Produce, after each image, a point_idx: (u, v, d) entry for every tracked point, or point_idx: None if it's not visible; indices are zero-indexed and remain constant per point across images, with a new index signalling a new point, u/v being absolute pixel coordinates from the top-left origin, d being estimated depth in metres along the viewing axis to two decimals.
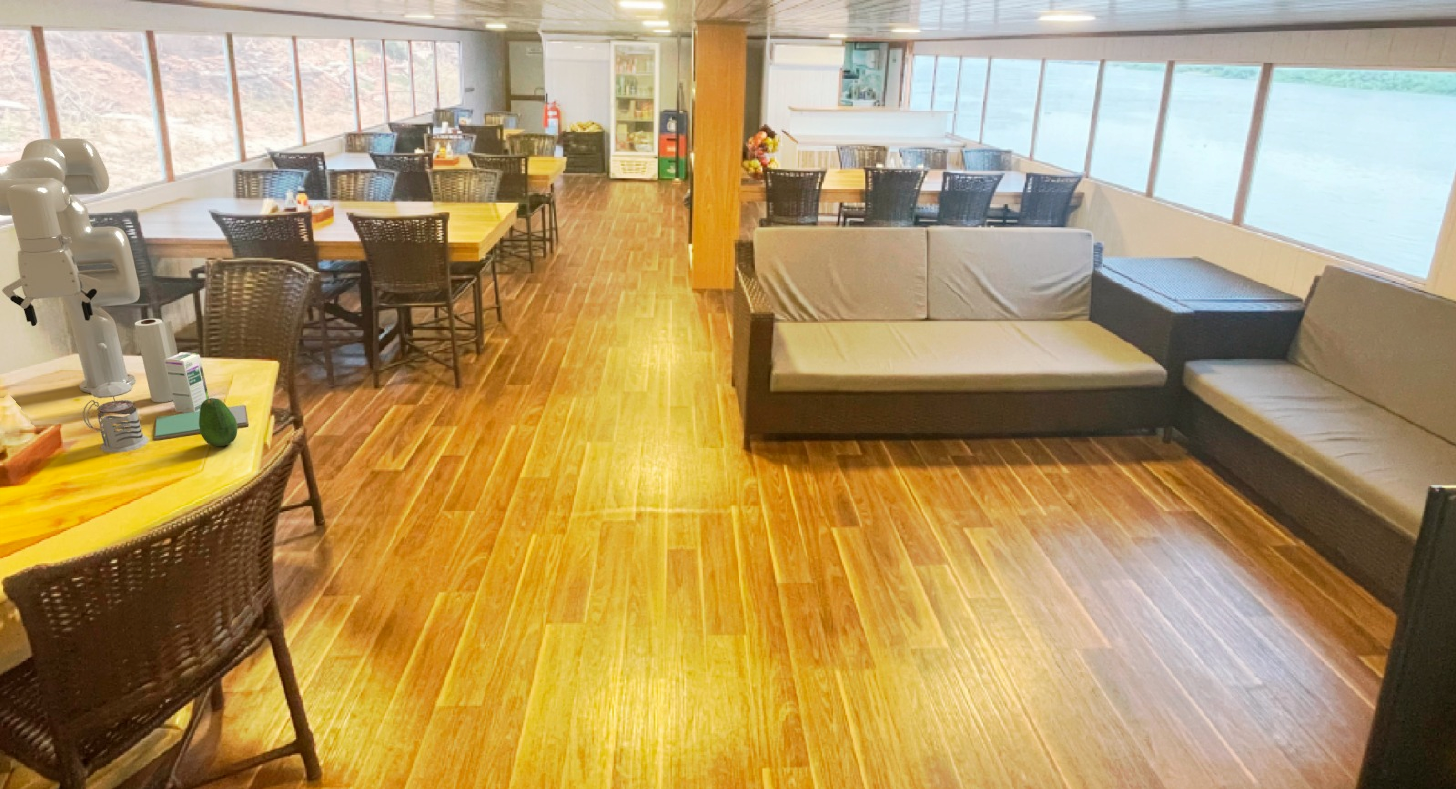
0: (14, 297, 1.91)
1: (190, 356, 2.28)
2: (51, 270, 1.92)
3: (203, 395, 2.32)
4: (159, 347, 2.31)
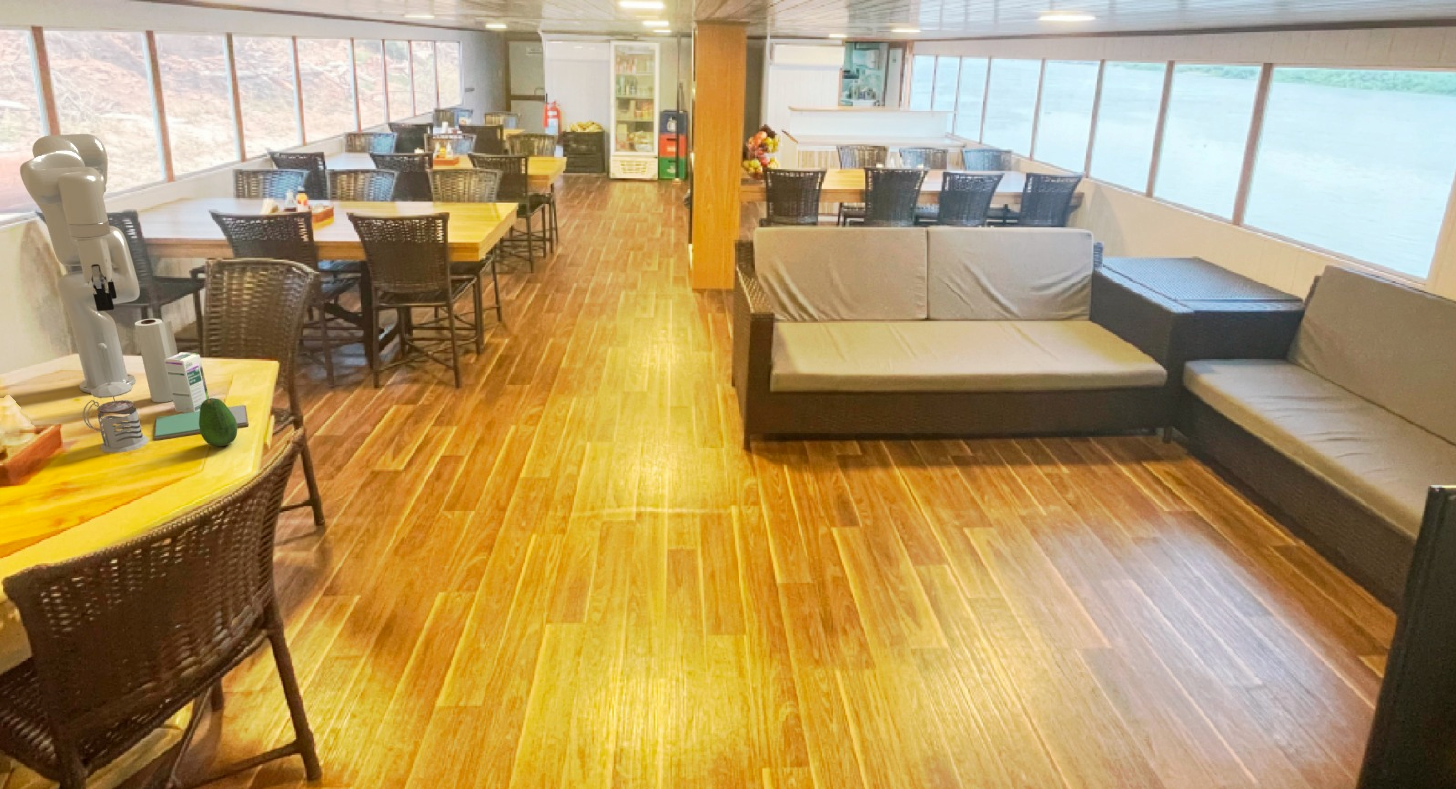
0: None
1: (190, 356, 2.28)
2: (107, 251, 2.04)
3: (203, 395, 2.32)
4: (159, 347, 2.31)
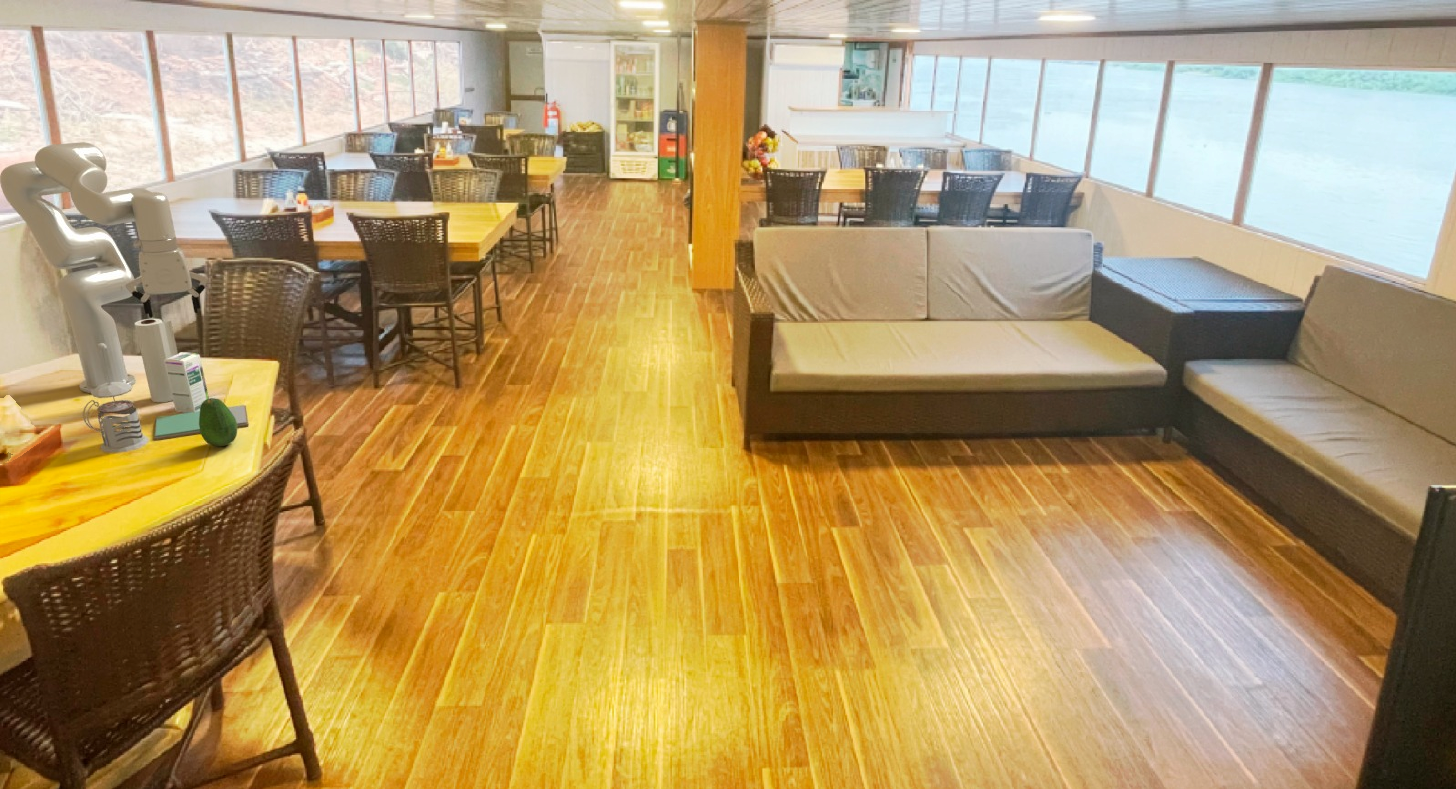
0: None
1: (190, 356, 2.28)
2: None
3: (203, 395, 2.32)
4: (159, 347, 2.31)
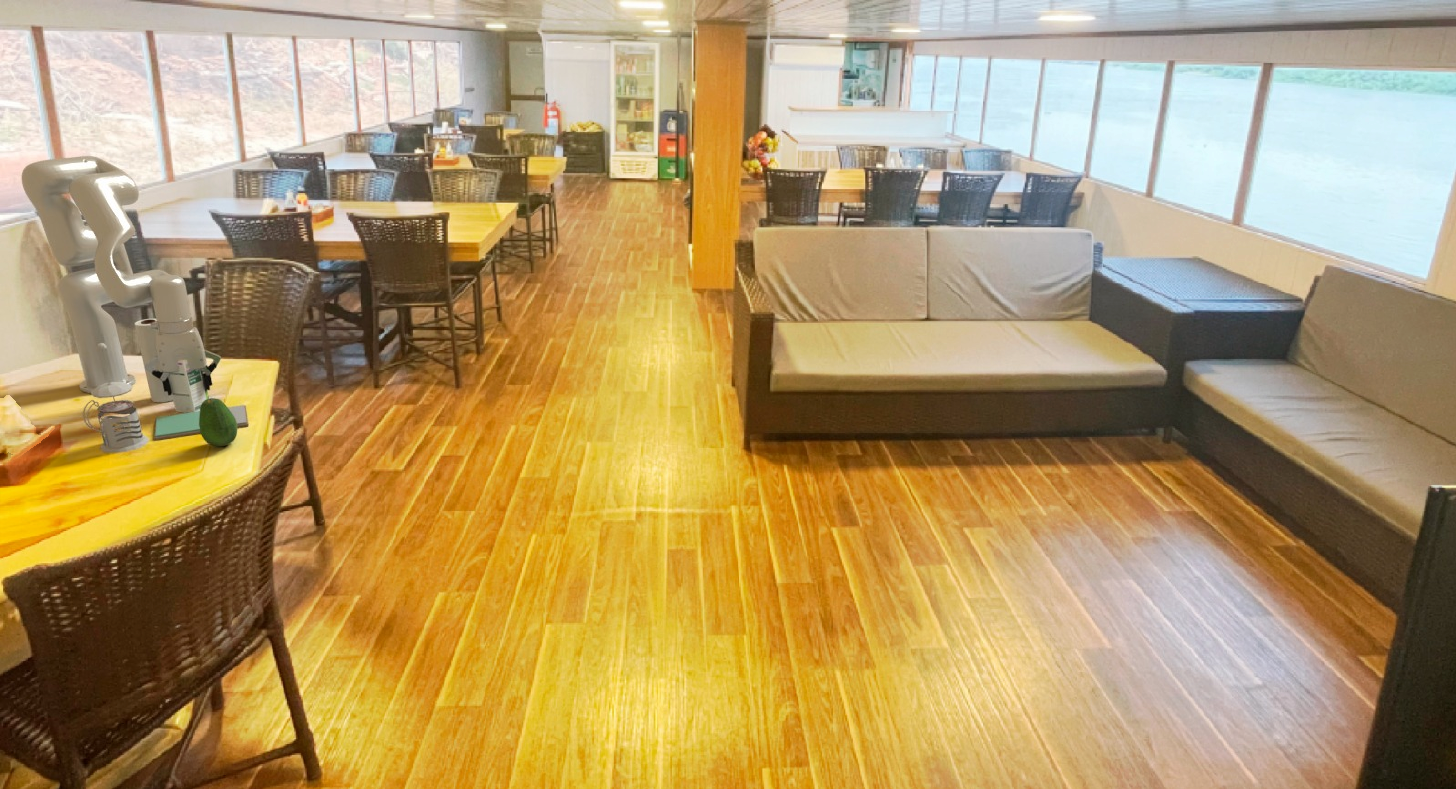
0: None
1: None
2: None
3: (203, 395, 2.32)
4: None
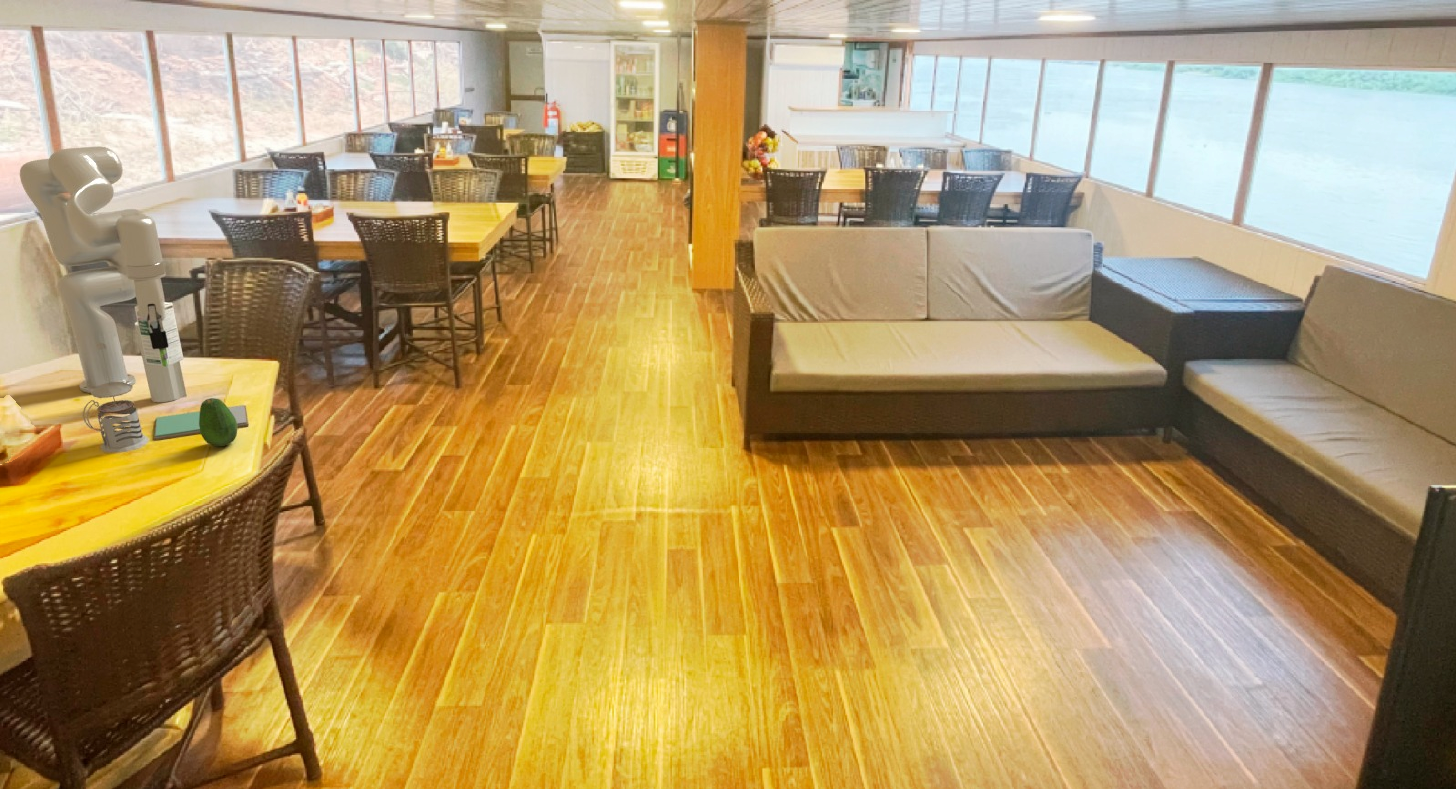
0: None
1: None
2: None
3: (157, 352, 2.12)
4: None
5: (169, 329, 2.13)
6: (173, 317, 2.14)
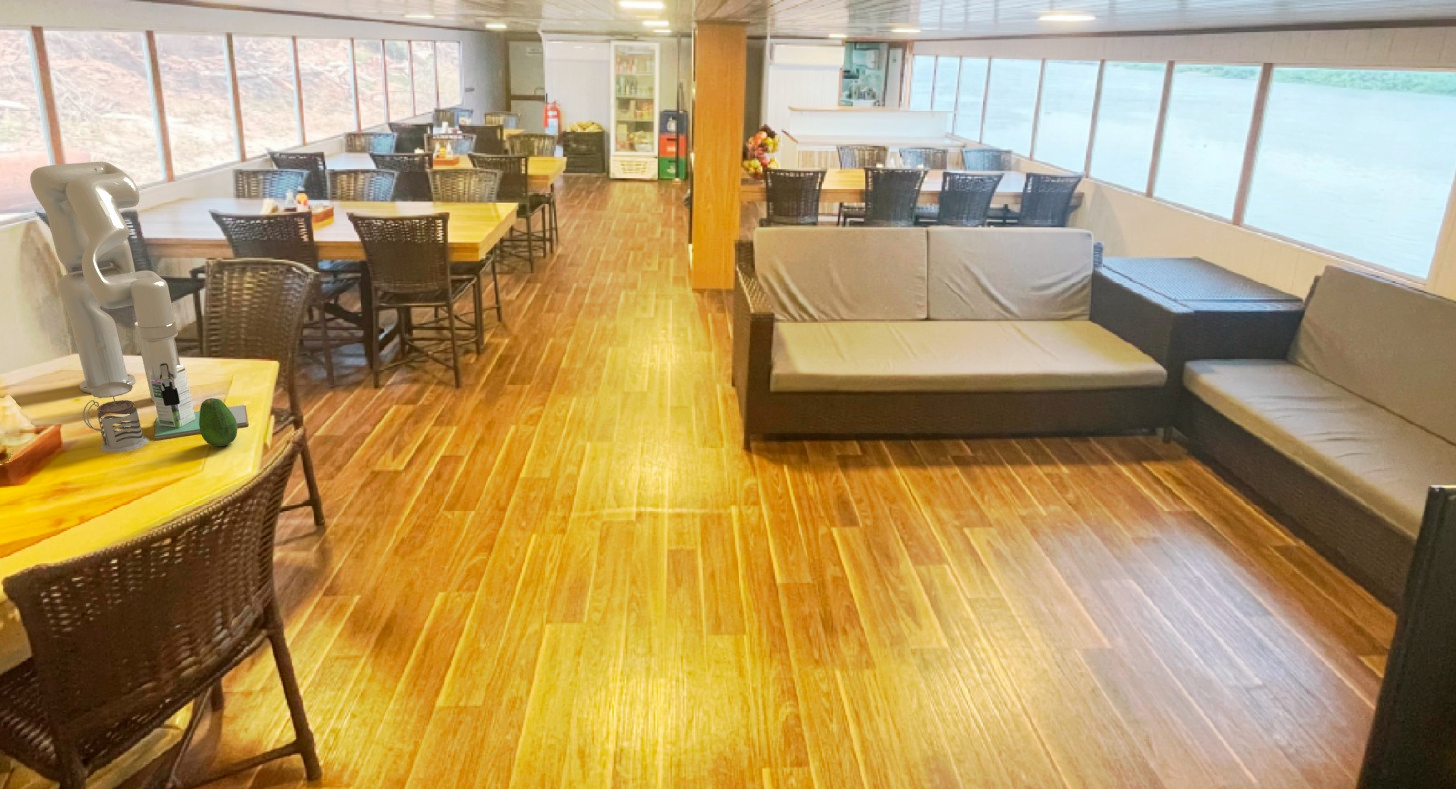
0: None
1: None
2: None
3: (170, 413, 2.18)
4: None
5: (181, 391, 2.19)
6: (185, 379, 2.20)
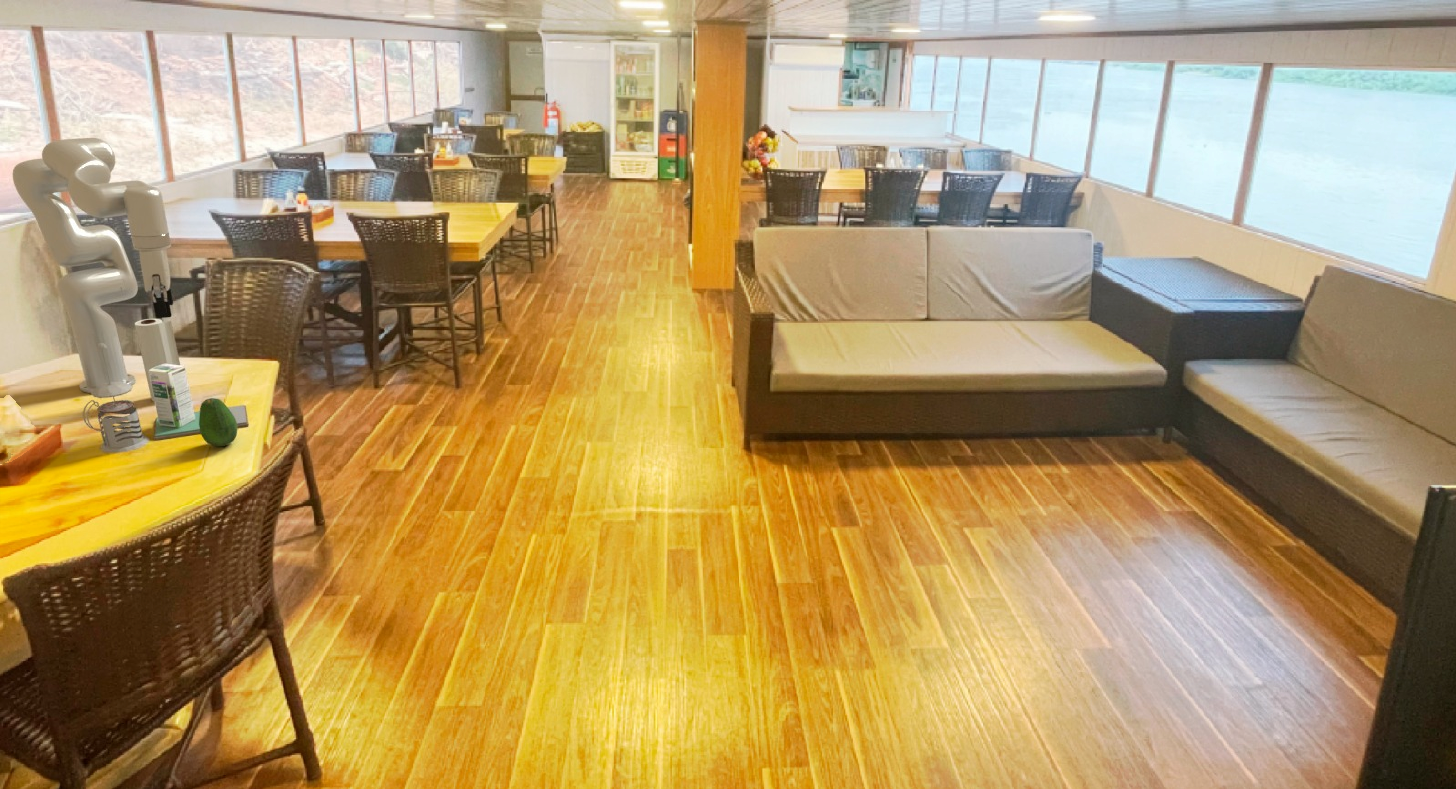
0: None
1: (162, 370, 2.15)
2: None
3: (170, 413, 2.18)
4: (159, 347, 2.31)
5: (181, 391, 2.19)
6: (185, 379, 2.20)
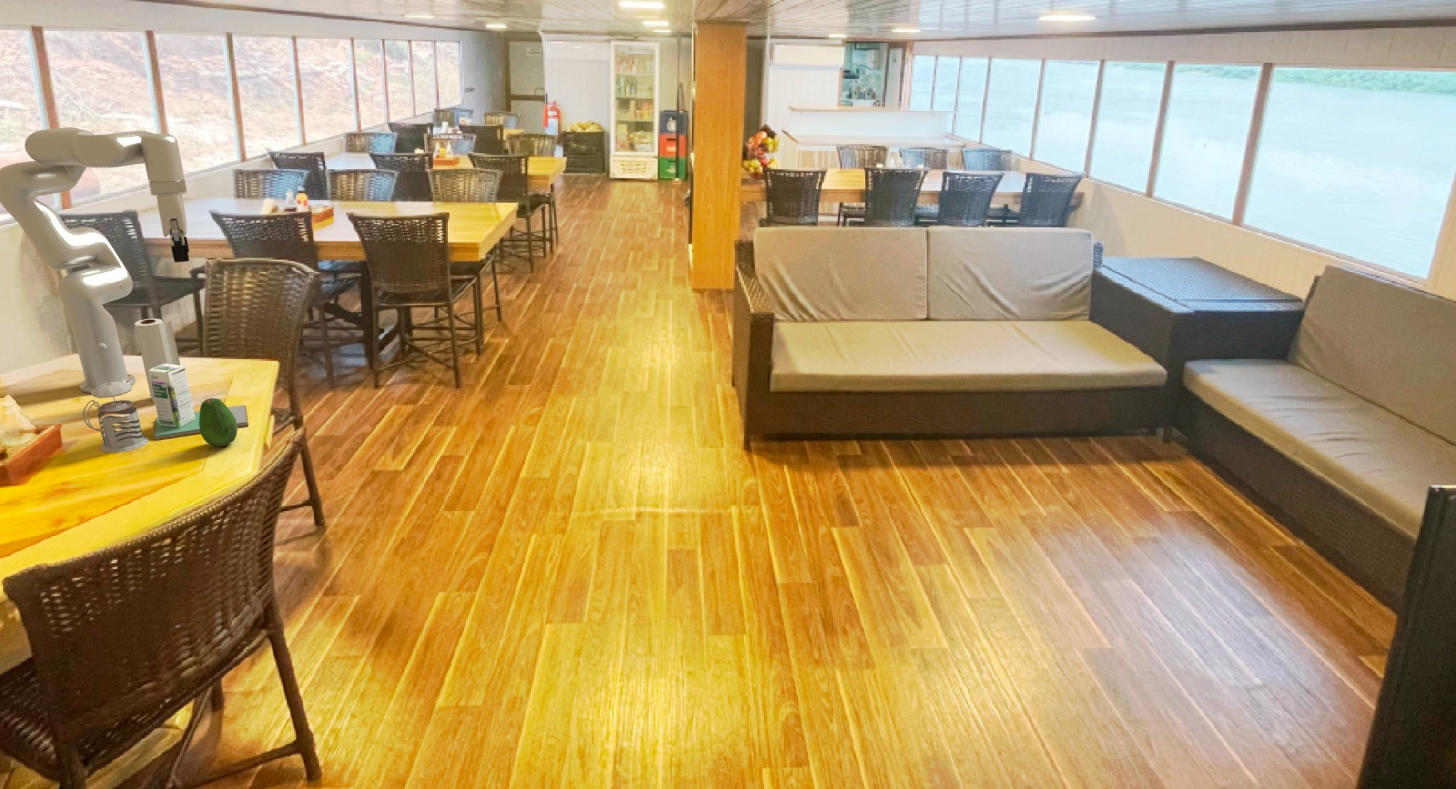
0: None
1: (162, 370, 2.15)
2: None
3: (170, 413, 2.18)
4: (159, 347, 2.31)
5: (181, 391, 2.19)
6: (185, 379, 2.20)
